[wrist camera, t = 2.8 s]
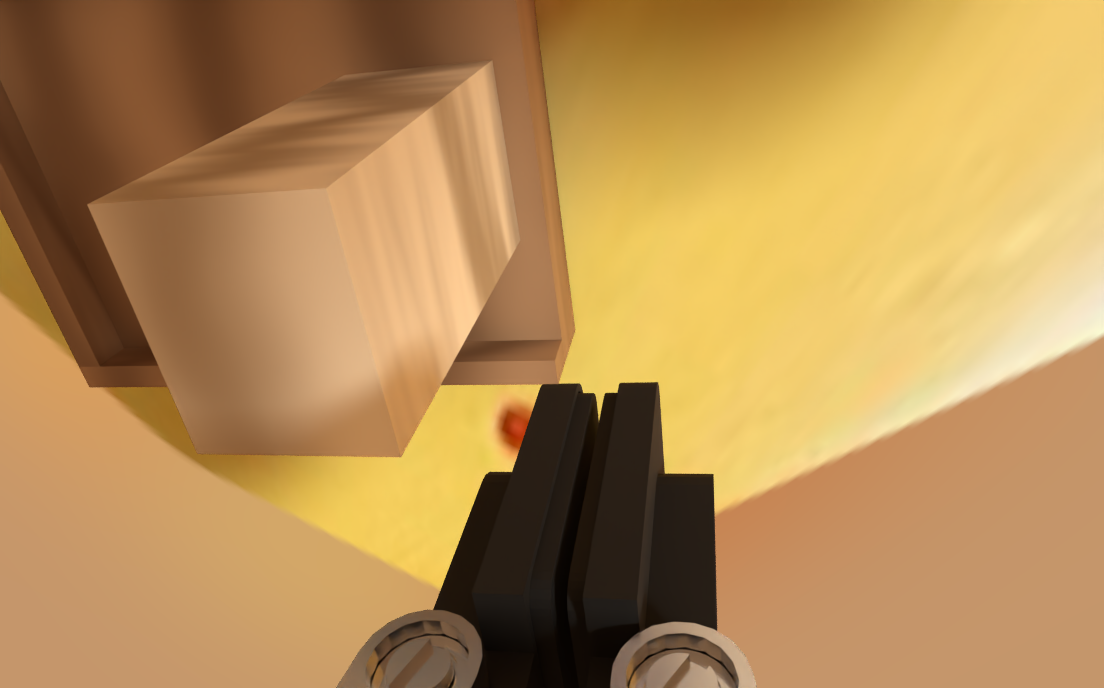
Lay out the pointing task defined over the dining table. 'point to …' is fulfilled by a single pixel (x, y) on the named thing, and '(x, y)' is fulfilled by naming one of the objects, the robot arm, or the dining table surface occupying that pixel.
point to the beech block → (321, 261)
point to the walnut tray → (229, 103)
